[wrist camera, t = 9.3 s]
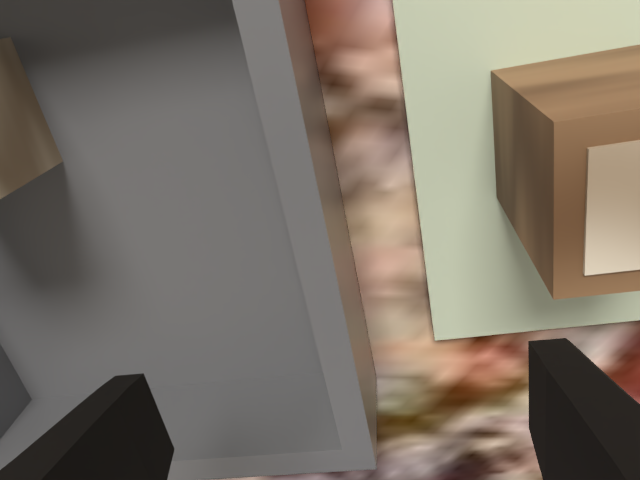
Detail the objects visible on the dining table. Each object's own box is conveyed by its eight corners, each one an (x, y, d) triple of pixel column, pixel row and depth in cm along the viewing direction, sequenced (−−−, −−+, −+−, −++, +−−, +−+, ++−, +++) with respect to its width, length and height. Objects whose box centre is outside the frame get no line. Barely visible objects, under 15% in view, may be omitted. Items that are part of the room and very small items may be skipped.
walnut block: (629, 179, 16) (758, 281, 11) (496, 197, 17) (555, 302, 12) (639, 44, 15) (797, 85, 9) (490, 70, 15) (555, 123, 10)
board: (689, 304, 19) (698, 314, 18) (433, 331, 20) (434, 340, 20) (750, -175, 13) (767, -183, 12) (380, -88, 14) (381, -90, 14)
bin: (376, 377, 21) (377, 469, 17) (29, 408, 24) (-39, 494, 20) (275, -153, 14) (235, -205, 10) (-218, -22, 16) (-407, -21, 12)
